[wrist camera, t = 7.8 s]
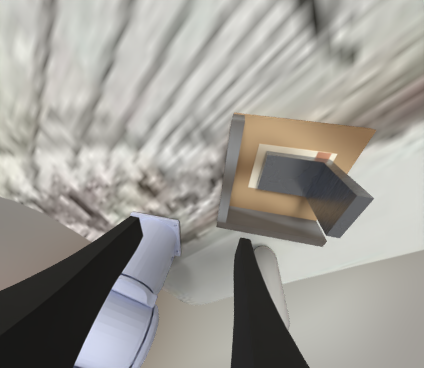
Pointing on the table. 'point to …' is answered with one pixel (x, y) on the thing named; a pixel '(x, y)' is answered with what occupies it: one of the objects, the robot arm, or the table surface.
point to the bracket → (316, 188)
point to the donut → (272, 280)
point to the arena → (274, 201)
